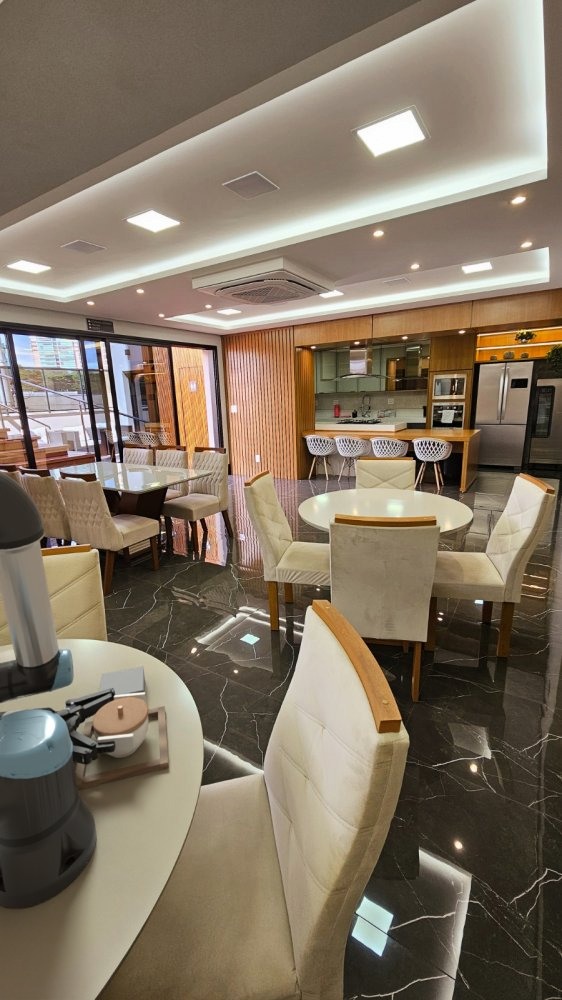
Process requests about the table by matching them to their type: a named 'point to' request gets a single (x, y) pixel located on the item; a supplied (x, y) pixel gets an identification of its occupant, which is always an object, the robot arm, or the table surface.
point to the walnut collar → (132, 769)
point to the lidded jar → (122, 722)
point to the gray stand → (124, 681)
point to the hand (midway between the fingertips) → (140, 718)
